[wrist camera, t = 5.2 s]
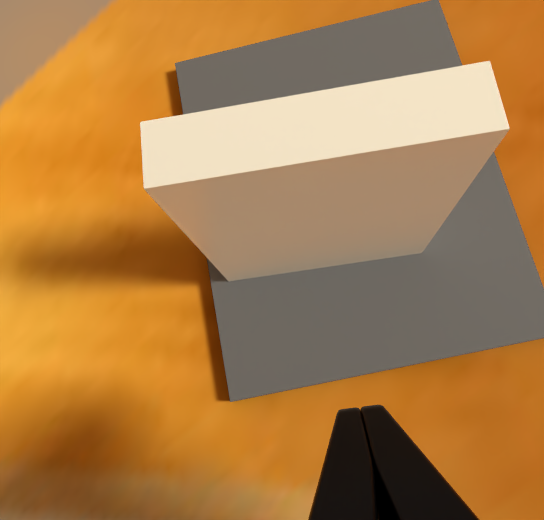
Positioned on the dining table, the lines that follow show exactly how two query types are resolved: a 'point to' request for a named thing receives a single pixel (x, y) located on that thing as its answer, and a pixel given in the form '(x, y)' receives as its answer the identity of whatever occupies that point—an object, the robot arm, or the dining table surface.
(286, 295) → the mat
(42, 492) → the dining table surface
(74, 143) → the dining table surface
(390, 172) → the tile
